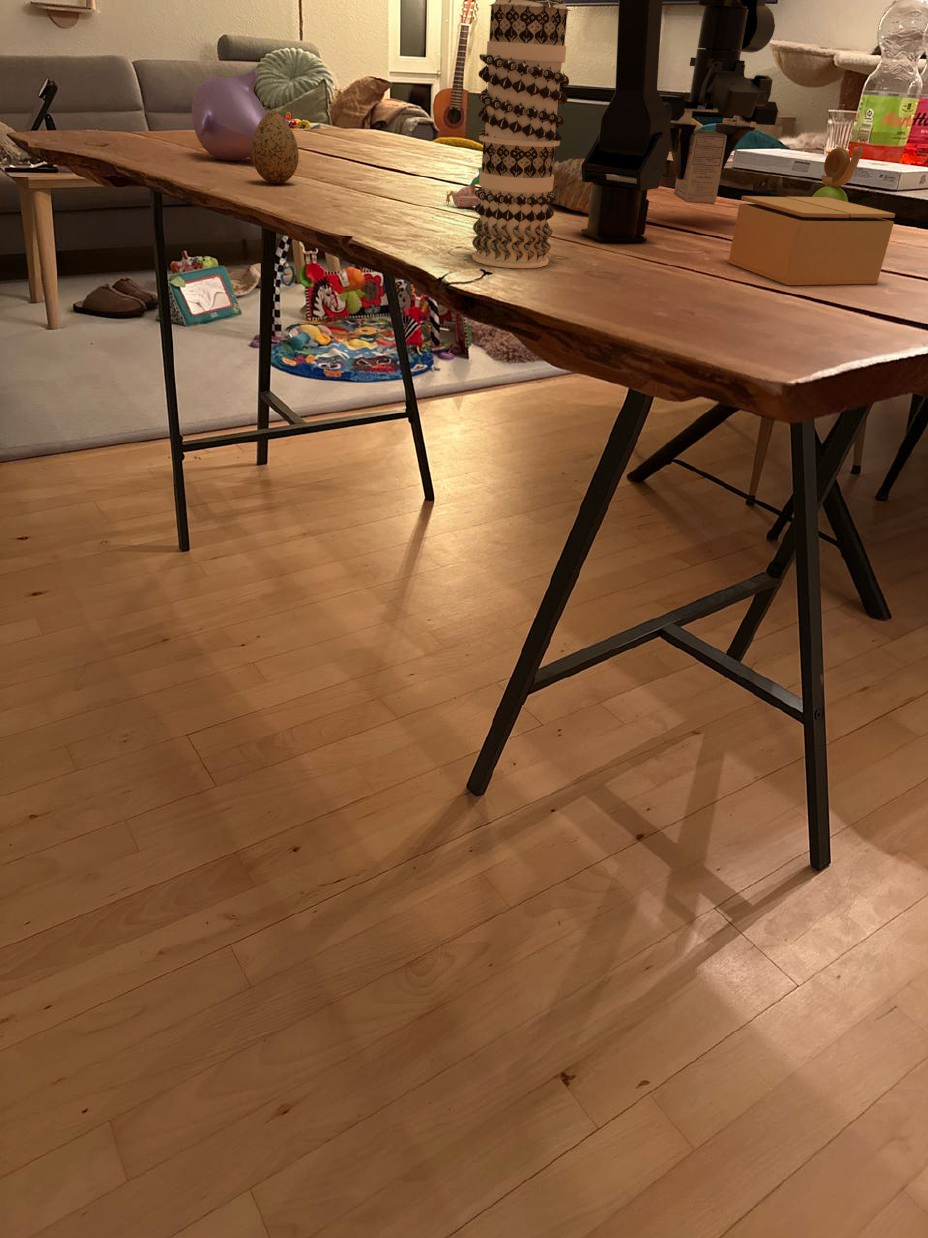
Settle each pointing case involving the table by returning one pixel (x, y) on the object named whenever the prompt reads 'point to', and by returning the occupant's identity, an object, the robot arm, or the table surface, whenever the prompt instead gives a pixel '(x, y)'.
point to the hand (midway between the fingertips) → (697, 179)
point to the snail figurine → (839, 172)
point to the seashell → (571, 186)
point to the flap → (795, 207)
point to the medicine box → (702, 168)
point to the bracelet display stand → (520, 131)
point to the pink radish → (466, 194)
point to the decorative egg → (274, 149)
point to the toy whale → (227, 115)
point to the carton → (812, 243)
